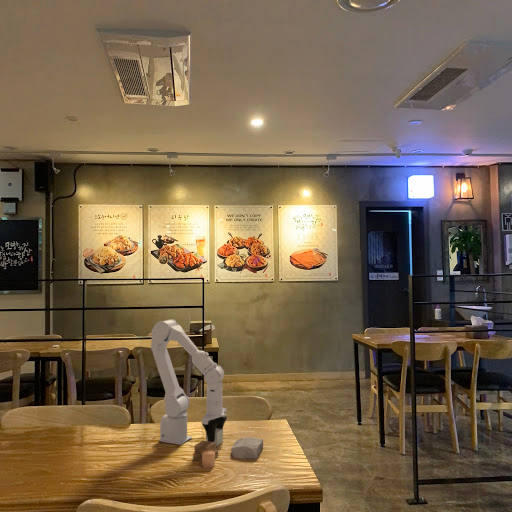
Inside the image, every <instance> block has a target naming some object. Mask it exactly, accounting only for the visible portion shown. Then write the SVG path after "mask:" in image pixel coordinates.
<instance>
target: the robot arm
mask: <svg viewBox="0 0 512 512" xmlns="http://www.w3.org/2000/svg"><path fill="white" fill-rule="evenodd" d="M150 341H151V343H150V350H151V352H152V355H153V357H154V360H155V361H154V362H155V364H156V368H157V370H158V373H159V377H160V380H161V382H162V386H163V389H164V392H165V395H164V397H163V401H164V412H165V414H164V415H163V416H161V419H160V423H159V424H160V427H159V429H160V430H159V431H160V433H159V435H160V436H159V437H160V438H159V439H158V442H160V443H161V442H162V443H167V444H172V445H178V446H179V445H183V444H184V443H186V442H187V441H189V440H192V438H193V437H192V436H190V435H188V409H189V407H190V405H191V404H190V403H191V402H190V398H189V397H188V396H187V395H186V393H185V391H184V389H183V388H182V387H181V386H180V384H179V381H178V378H177V376H176V372H175V368H174V366H173V363H172V360H171V357H170V354H169V351H168V348H167V345H168V344H169V343H170V341H173V342H174V341H175V342H177V343H178V344H179V345H180V346H181V347H182V348H183V349H184V350H185V351H186V352H187V353H188V354H189V356H191V362H192V364H193V365H194V366H195V367H196V368H197V369H198V370H199V372H201V375H203V379H204V381H205V383H206V412H205V414H204V416H203V417H202V418H201V424H202V426H203V427H202V428H204V431H205V435H206V434H207V438H208V441H209V442H214V439H215V431H216V428H217V429H223V430H224V425H225V423H226V421H227V419H228V417H227V415H226V414H227V408H225V407H223V401H224V400H223V395H224V394H223V379H224V377H225V371H224V369H223V367H222V366H220V365H218V363H217V362H214V361H213V360H212V358H211V357H210V356H209V355H210V354H209V352H207V351H206V352H205V350H201V349H200V350H199V349H198V348H197V346H196V345H195V343H194V341H192V340H191V339H190V337H189V335H188V334H187V333H186V332H185V331H184V329H183V328H182V326H181V325H180V324H179V323H178V322H177V321H176V320H175V319H170V318H169V319H166V320H160V321H158V322H156V323H155V324H154V326H153V327H152V329H151V340H150Z"/></svg>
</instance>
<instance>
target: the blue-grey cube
mask: <svg viewBox="0 0 512 512" xmlns="http://www.w3.org/2000/svg"><path fill="white" fill-rule="evenodd" d="M205 441H208V438H207V434H206V433H205ZM214 442H215V447H218V446H219V445H221V444H222V443H223V442H224V428H223V429H217V428H216V431H215V439H214Z"/></svg>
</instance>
